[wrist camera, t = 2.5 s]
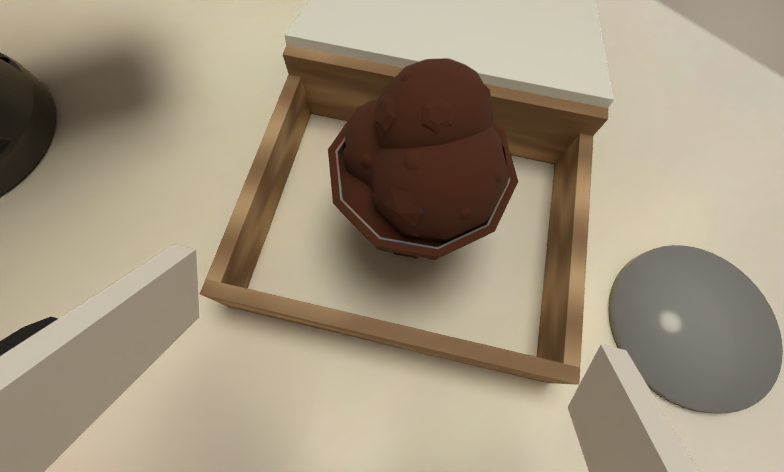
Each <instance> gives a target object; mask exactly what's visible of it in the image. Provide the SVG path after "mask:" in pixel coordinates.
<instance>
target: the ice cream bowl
mask: <svg viewBox="0 0 784 472" xmlns="http://www.w3.org/2000/svg"><path fill="white" fill-rule="evenodd" d="M490 97H491V93H490V89H489V88H488V87H487V86H486V85H484V83H483V81H482V80H481V78H480V76H479V74H478V73H477V72H476V71H475V70H473V69H472V68H470V67H469V66H467V65H465V64H463V63H460V62H457V61H455V60H452V59H449V58H441V59H425V60H422V61H419V62H417V63H414V64H411V65H409V66H406V67H405V68H404V69H403V70H402V71H401V72H400V73H399V74H398V75H397V76H396V77H395V78H394V79H393V80H392V81H391V82H390V83H389V84H388V85H387V86H386V87H385V88H384V89H383V90H382V92H381V95H380V97H379V98H376V99H373V100H371V101H368V102H366V103H365V104H364V105H362V106H359V107H357V108H356V110H355V111H354V113H353V114H352V116H351V117H350V119H349V120H348V121H347V123H346V124H345V126H344V127H343V129H342V130H341V132H340V133H339V134H338V136H337V137H336V139H335V140H334V142H333V143H332V145H331V146H330V147H329V149H328V155H329V165H330V176H331V187H332V197H333V203H334V205H335V206H336V207H337V208H338V209H339V210H340V211H341V212H342V213H343V214H344V215H345V216H346V218H347V219H348V220H349V221H350V222H351V223H352V224H353V225H354V226H355V227H356V228H357V229H358V230H359V231H360V232H361V233H362V234H363V235H364V236H365V237H366V238H367V239H368V240H369V241H370V242H371V243H372V244H373V245H374V246H375V247H376V248H377V249H378V250H383V251H389V252H393V253H394V254H397V255H403V256H408V257H414V258H417V257H423V258H428V259H434V260H435V259H437V258H440V257H442V256H444V255H446V254H448V253H450V252H452V251H455V250H457V249H459V248H461V247H463V246H465V245H467V244H469V243H472V242H474V241H476V240H478V239H480V238H482V237H484V236H486V235H488V234H490V233H492V232H494V231H495V230H496V228H497V225H498V223H499V221H500V219H501V217H502V215H503V213H504V211H505V209H506V206H507V204H508V202H509V200H510V198H511V196H512V194H513V192H514V189H515V187H516V185H517V183H518V179H517V175H516V172H515V168H514V165H513V161H512V157H511V154H510V150H509V147H508V143H507V140H506V136H505V132H504V131H503V130H502V129H501V128H500V127H499V126H497V125H496V124H495V123H494V122H493V120H494V114H493V104H492V101H491V99H490Z"/></svg>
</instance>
